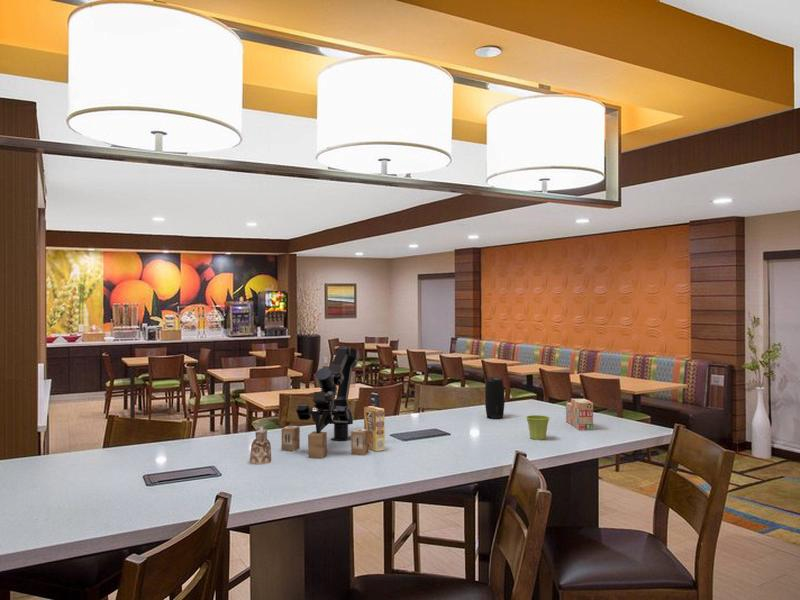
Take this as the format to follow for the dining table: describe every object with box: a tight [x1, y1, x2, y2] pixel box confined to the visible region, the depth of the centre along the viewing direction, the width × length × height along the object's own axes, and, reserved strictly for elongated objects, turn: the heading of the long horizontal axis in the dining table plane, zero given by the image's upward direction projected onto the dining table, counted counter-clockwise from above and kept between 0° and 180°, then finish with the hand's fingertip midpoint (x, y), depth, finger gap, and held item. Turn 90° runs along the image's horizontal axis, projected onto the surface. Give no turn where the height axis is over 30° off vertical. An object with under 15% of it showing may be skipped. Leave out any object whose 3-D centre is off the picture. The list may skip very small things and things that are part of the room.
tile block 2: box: [350, 428, 370, 456], centre depth 215 cm, size 5×5×8 cm
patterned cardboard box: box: [565, 398, 594, 432], centre depth 268 cm, size 21×6×12 cm, turn 0°
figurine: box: [249, 424, 272, 465], centre depth 202 cm, size 7×7×12 cm
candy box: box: [363, 405, 386, 452], centre depth 222 cm, size 9×4×15 cm, turn 33°
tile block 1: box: [281, 425, 301, 452], centre depth 221 cm, size 5×5×8 cm
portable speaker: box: [484, 376, 505, 420], centre depth 290 cm, size 9×9×20 cm
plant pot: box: [525, 414, 551, 441], centre depth 241 cm, size 9×9×9 cm
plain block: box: [307, 430, 328, 459], centre depth 210 cm, size 5×5×8 cm
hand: (317, 432), depth 210 cm, fingers closed, pressing on plain block
